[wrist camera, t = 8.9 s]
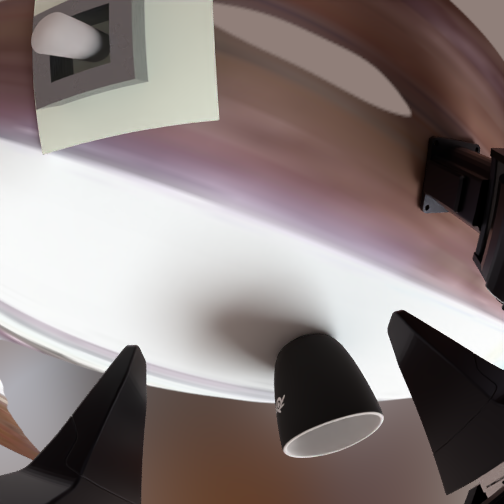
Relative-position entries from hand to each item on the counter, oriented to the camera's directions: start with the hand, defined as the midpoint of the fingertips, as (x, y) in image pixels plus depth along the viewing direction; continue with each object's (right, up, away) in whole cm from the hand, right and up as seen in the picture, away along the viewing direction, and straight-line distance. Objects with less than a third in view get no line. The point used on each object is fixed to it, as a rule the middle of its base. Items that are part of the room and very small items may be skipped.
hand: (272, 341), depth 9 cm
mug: (+5, -9, +20) cm, 23 cm away
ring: (-10, +15, +3) cm, 18 cm away
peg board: (-9, +16, +4) cm, 18 cm away
